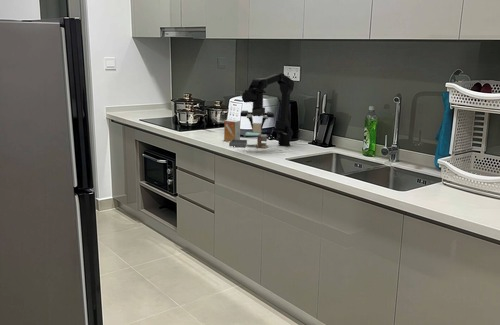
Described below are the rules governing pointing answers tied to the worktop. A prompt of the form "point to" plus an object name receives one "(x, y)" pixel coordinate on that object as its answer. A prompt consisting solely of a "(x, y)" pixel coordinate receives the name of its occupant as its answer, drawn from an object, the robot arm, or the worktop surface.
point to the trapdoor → (262, 137)
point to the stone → (256, 127)
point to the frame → (259, 144)
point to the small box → (231, 130)
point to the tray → (238, 143)
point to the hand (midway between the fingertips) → (256, 129)
